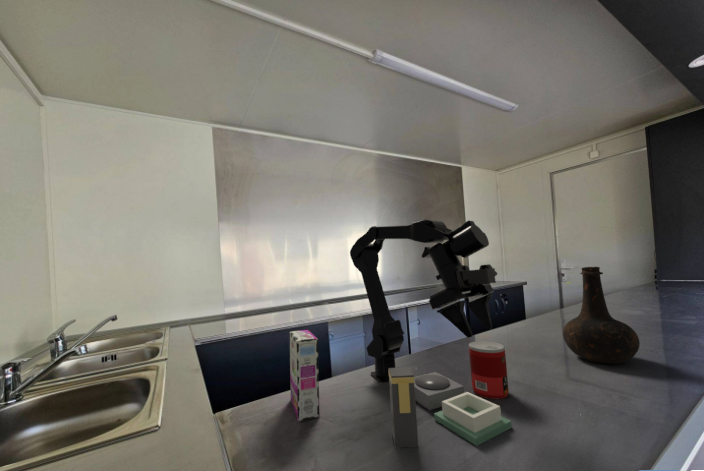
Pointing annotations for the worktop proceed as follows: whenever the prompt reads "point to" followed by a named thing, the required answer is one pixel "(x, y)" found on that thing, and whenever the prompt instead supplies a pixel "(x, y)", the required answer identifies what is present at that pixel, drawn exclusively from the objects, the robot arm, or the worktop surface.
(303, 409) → the candy bar box
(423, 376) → the grey domed square block
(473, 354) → the canned food
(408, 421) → the dark grey tall block
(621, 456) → the worktop surface
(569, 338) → the glass bottle
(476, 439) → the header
